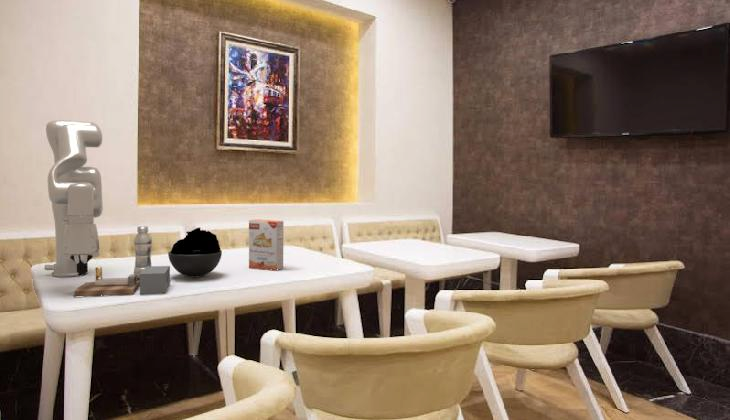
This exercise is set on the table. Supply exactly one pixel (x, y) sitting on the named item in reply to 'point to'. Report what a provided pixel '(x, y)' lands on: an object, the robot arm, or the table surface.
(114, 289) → the brown wooden flat slab
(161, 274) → the block
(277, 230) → the cracker box
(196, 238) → the bowl of black rocks
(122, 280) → the bolt
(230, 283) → the table surface
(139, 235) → the plastic bottle
